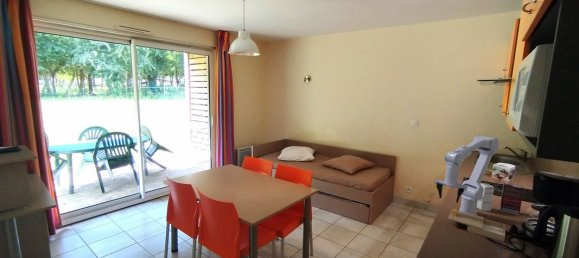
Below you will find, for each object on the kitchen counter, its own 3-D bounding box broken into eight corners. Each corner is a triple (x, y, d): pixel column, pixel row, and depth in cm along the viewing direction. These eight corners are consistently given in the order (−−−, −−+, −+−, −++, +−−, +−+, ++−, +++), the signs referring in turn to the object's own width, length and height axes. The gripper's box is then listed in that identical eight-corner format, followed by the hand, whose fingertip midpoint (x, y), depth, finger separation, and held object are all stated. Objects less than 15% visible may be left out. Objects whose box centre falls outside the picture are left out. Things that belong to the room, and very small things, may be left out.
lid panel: (452, 210, 144) (452, 203, 143) (483, 218, 135) (484, 211, 134) (447, 219, 133) (448, 212, 132) (481, 229, 124) (482, 222, 124)
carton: (470, 220, 139) (470, 215, 138) (504, 230, 130) (505, 224, 130) (466, 231, 128) (467, 225, 128) (503, 242, 119) (504, 236, 119)
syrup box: (491, 211, 151) (495, 186, 149) (481, 210, 151) (485, 186, 149) (483, 206, 157) (487, 183, 155) (473, 206, 157) (477, 183, 154)
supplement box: (518, 212, 151) (522, 185, 148) (519, 215, 147) (524, 188, 144) (499, 208, 156) (503, 182, 153) (499, 211, 152) (503, 184, 149)
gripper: (434, 173, 138) (431, 198, 140) (467, 180, 129) (464, 206, 131) (437, 170, 144) (434, 194, 146) (469, 176, 135) (465, 202, 137)
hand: (448, 199), depth 139 cm, fingers open, 7 cm apart
